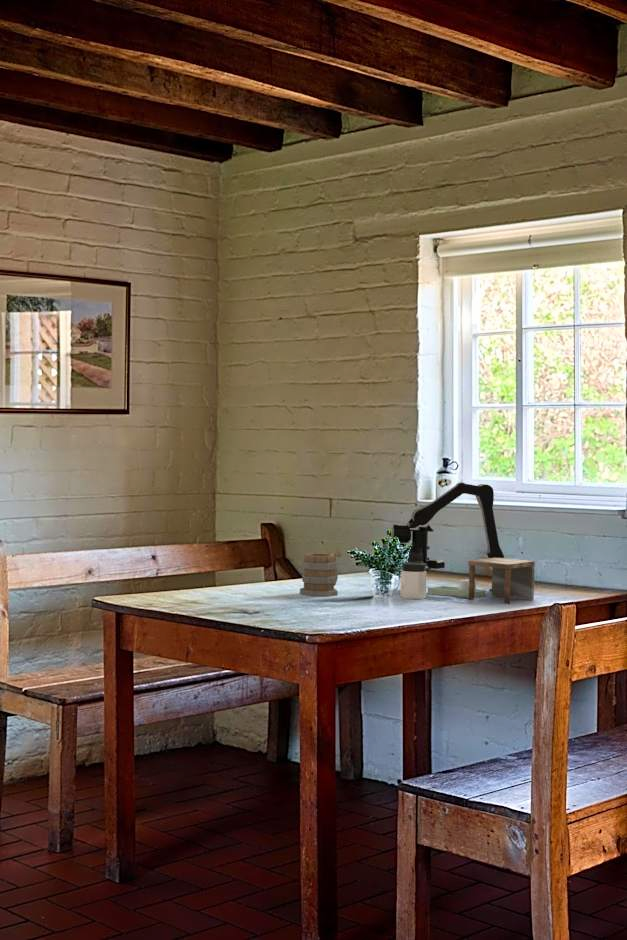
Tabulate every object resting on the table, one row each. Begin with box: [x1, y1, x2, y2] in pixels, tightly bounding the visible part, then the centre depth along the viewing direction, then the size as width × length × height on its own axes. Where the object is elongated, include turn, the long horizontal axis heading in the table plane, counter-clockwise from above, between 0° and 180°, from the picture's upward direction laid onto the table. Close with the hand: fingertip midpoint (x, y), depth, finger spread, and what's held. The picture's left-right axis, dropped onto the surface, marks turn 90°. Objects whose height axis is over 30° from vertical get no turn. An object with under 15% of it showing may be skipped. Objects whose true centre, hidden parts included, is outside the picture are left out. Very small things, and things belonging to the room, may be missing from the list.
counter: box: [467, 557, 536, 605], centre depth 446 cm, size 18×16×14 cm
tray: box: [427, 578, 487, 599], centre depth 457 cm, size 10×18×6 cm, turn 52°
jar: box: [399, 562, 427, 600], centre depth 446 cm, size 9×8×12 cm
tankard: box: [299, 549, 343, 598], centre depth 452 cm, size 20×13×15 cm, turn 143°
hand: (418, 586), depth 467 cm, fingers closed
